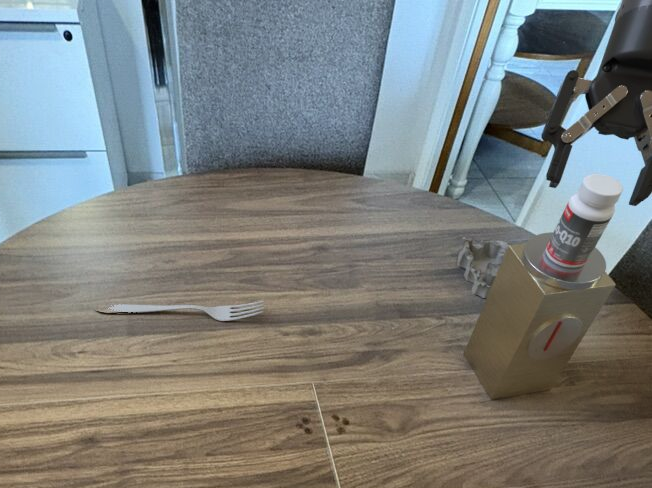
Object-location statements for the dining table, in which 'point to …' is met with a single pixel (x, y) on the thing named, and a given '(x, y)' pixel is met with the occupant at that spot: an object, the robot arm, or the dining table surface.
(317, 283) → the dining table surface
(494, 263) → the egg carton
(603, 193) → the pill bottle
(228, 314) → the fork
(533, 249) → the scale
